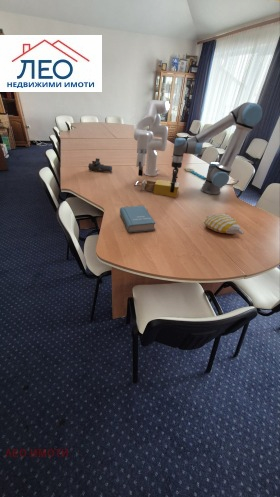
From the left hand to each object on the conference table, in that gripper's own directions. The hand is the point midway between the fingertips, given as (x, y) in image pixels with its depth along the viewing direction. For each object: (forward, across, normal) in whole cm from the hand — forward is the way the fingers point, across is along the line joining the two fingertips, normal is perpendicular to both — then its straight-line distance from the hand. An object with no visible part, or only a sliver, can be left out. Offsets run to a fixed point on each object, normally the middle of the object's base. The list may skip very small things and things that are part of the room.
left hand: (140, 175), depth 175 cm
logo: (+11, -62, +44) cm, 77 cm away
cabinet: (+11, 0, +22) cm, 25 cm away
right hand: (+7, 0, +27) cm, 28 cm away
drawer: (+10, 0, +8) cm, 13 cm away
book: (+11, +54, +11) cm, 56 cm away
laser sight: (+11, -30, -46) cm, 56 cm away
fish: (+11, +46, +64) cm, 79 cm away
